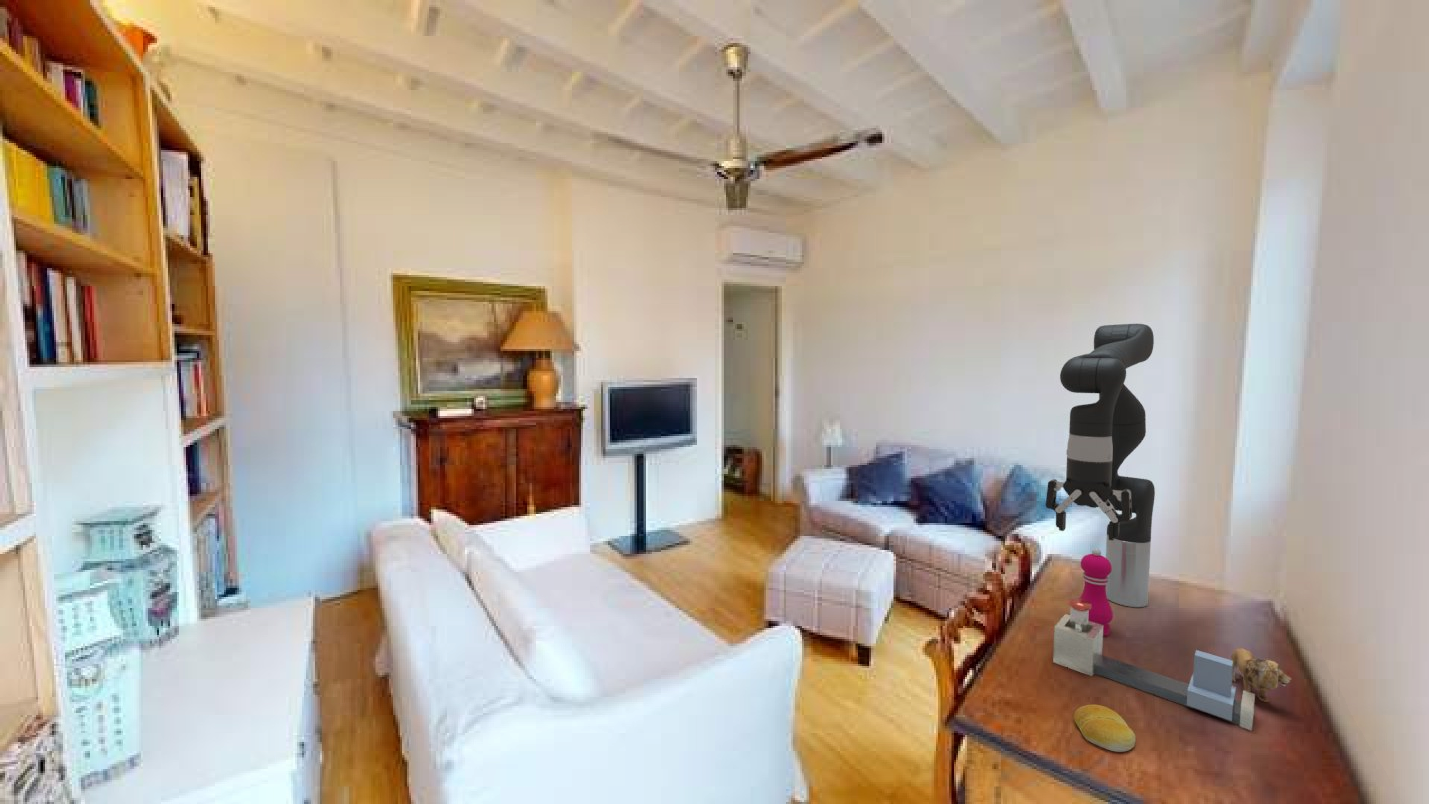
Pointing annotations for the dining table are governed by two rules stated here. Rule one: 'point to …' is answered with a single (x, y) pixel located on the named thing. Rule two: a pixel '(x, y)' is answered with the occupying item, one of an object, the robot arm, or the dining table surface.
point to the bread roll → (1104, 728)
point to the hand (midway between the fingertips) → (1086, 534)
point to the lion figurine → (1257, 672)
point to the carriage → (1212, 685)
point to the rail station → (1128, 669)
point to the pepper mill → (1097, 588)
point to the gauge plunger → (1079, 614)
